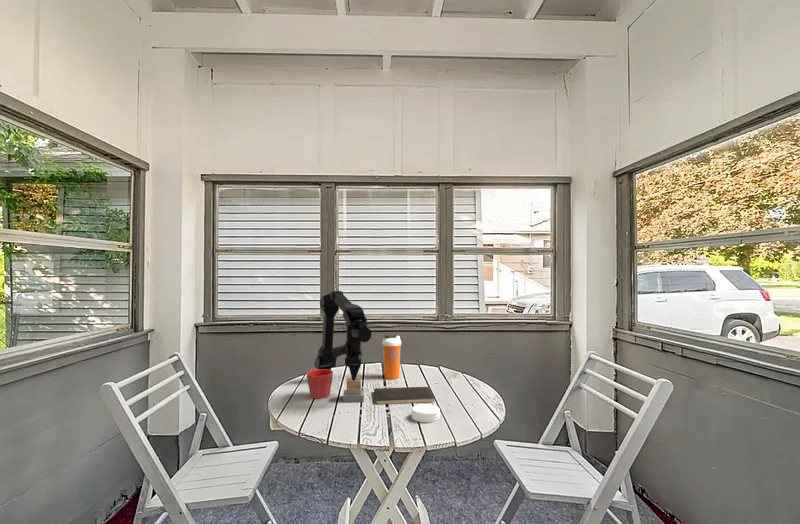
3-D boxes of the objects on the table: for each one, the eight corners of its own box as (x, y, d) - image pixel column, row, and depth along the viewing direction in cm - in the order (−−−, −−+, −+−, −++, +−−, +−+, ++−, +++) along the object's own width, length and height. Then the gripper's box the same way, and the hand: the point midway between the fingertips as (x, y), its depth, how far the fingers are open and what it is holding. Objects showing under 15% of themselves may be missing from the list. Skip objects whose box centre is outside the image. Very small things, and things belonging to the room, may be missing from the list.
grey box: (344, 396, 184) (344, 390, 184) (363, 395, 184) (363, 389, 184) (343, 402, 176) (343, 396, 176) (363, 401, 176) (363, 395, 176)
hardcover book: (435, 403, 175) (435, 397, 175) (376, 406, 173) (376, 400, 173) (428, 391, 191) (428, 386, 191) (374, 393, 189) (374, 388, 189)
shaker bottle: (379, 376, 214) (379, 334, 214) (396, 374, 218) (396, 332, 218) (386, 380, 206) (386, 337, 206) (404, 378, 210) (404, 335, 210)
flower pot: (300, 397, 182) (300, 373, 182) (317, 390, 191) (317, 367, 191) (321, 401, 177) (321, 376, 177) (338, 394, 186) (338, 370, 186)
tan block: (347, 390, 182) (347, 377, 182) (360, 390, 183) (360, 376, 183) (346, 394, 177) (346, 381, 177) (360, 394, 177) (360, 380, 177)
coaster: (422, 411, 166) (422, 401, 166) (445, 417, 160) (445, 407, 160) (405, 418, 158) (405, 408, 158) (429, 425, 152) (428, 415, 152)
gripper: (335, 334, 188) (335, 371, 188) (331, 343, 170) (331, 384, 170) (361, 334, 189) (361, 371, 189) (361, 342, 170) (361, 383, 171)
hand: (353, 377), depth 180 cm, fingers open, 9 cm apart
